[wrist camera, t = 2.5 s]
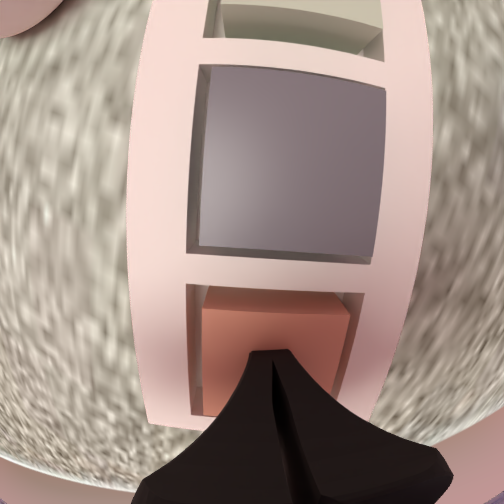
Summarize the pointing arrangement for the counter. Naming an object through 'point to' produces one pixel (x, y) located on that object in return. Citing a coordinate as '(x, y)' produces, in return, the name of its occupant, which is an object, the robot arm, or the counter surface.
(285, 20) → the key sage
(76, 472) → the counter surface
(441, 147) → the counter surface
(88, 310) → the counter surface
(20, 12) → the teacup
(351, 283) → the pink tray
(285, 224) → the key charcoal
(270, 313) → the key terracotta
